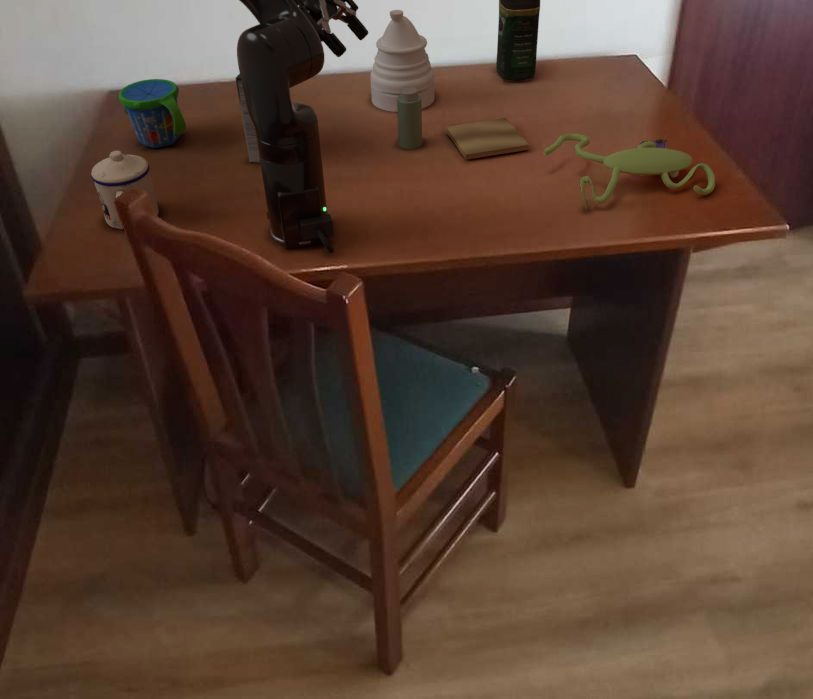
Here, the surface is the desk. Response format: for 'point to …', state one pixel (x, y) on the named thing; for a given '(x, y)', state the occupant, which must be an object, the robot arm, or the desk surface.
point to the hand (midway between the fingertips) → (354, 45)
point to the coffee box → (248, 124)
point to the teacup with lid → (121, 182)
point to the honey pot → (401, 64)
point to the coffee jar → (517, 39)
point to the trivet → (486, 138)
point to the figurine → (638, 164)
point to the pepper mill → (409, 118)
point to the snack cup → (153, 111)
